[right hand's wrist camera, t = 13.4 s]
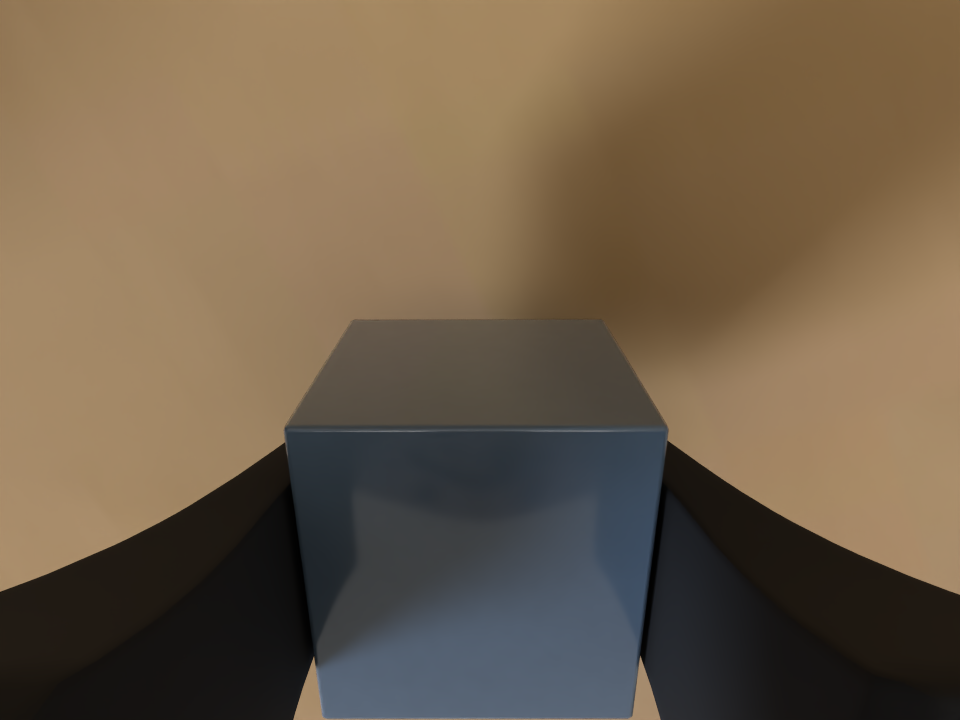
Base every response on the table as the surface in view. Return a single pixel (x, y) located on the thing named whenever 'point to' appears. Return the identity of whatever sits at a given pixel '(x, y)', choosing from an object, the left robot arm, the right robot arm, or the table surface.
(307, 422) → the block
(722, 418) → the table surface
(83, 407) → the table surface
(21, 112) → the table surface
